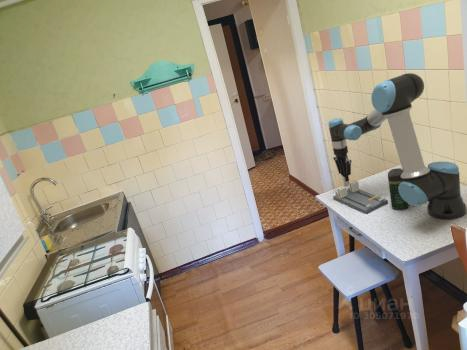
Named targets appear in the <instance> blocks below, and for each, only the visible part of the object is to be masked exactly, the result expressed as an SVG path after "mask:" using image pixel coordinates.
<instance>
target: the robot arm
mask: <svg viewBox="0 0 467 350" xmlns="http://www.w3.org/2000/svg"><path fill="white" fill-rule="evenodd" d="M424 90H425V82H424V80H423V79H422V77H421V76H419V75H418V74H415V73H411V72H409V73H403V74H400V75H398V76H395V77H393V78H390V79H387V80H384V81H382V82H380V83H377V84H376V85H375V86H374V87H373V89H372V92H371V103H372V104H371V105H372V107H373V108H374V109H373V110H372V111H371V112H370V113H369V114H367V115H366V116H365V117H364V118H361V119H359V120H356V121H353V122H350V123H348V124H347V123H344V119H342V118H341V117H336V118H333V119H330V120H329V121H328V129H329V135H330V139H331V147H332V150H333V154H334V157H333V160H334V163H335V165H336V169H337V172H338V174H339V175H341V177H342V178H341V179H342V182H343V186H345V187H346V188H348V187H349V183H350V177H349V176H351V175H352V160H351V159H349V157H348V153H349V148H348V145H347V140H348V141H358V140H359V139H360V138H361V137H362V135H365V134H367V133H370V132H372V131H375V130H377V129H380V127H381V126H382V124H383V123H384V122H385V121H386V120H387V122H388V125H389V129H390V133H391V136H392V138H393V139H392V140H393V142H394V145H395V149H396V152H397V155H398V158H399V163H400V167H401V169H402V170H403V173H402V174H401V179H402V182H401V183H400V184H399V187H398V191H399V194H400V196H401V197H402V198H403V200H404V201H406V202H407V203H408V204H409V205H410V206H413V207H414V206H415V207H419V206H421V205H425V204H427V203H428V204H427V207H426V208H427V213H428V215H429V216H431V217H433V218H436V219H440V220H453V219H454V220H455V219H458V218H461V217H463V216H464V215H466V213H467V205H466V204H465V202H464V199H463V197H462V195H461V180H460V170H459V166H458V165H457V164H456V163H455V162H450V161H435V162H431V163H429V164H427V166H425V162H424V159H423V156H422V153H421V149H420V145H419V142H418V138H417V134H416V130H415V128H414V124H413V120H412V117H411V114H410V111H411V110H412V108H413V106H412V102H414V101H416V100H417V99H418V98H420V97H421V95H423V93H424Z"/></svg>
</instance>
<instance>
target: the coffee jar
mask: <svg viewBox="0 0 467 350" xmlns="http://www.w3.org/2000/svg"><path fill="white" fill-rule="evenodd" d="M402 173H403V169H402V167H400V168H391V169H390V170H389V171H388V173H387V181H388V189H389V190H388V191H389V195H390V205H391V208H392V209H394V210H400V211H401V210H405V209H408V208H409V205H410V204H408V203H407V202H406V201H404V200H403V198H402V197H401V196H400V194H399V191H398V187H399V184H400V183H401V182H402V179H401V174H402Z"/></svg>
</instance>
